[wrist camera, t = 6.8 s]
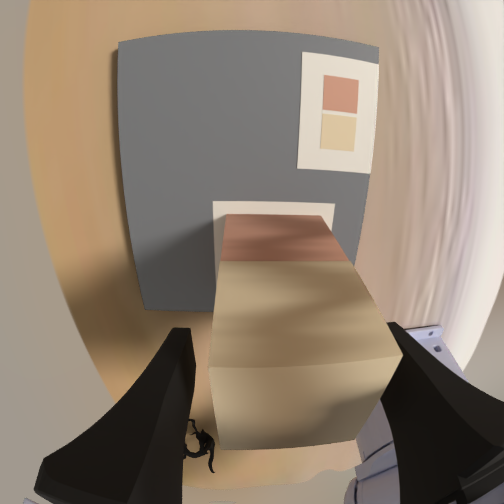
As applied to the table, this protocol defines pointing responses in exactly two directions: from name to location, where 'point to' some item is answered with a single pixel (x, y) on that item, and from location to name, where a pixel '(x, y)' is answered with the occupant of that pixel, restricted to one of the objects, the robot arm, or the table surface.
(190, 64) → the build board
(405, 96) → the table surface
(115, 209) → the table surface
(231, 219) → the rust block
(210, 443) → the creature
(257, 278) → the maple block
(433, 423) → the robot arm
